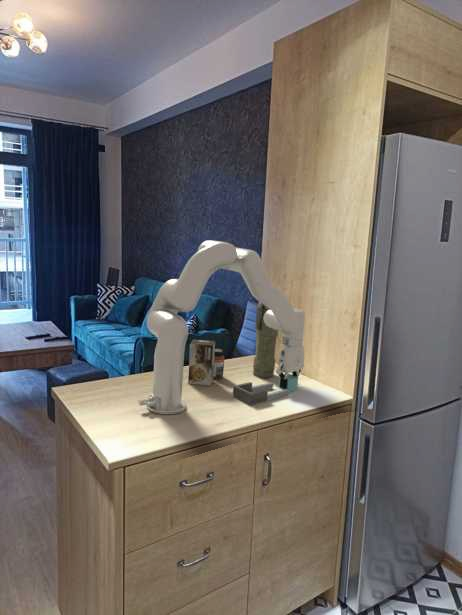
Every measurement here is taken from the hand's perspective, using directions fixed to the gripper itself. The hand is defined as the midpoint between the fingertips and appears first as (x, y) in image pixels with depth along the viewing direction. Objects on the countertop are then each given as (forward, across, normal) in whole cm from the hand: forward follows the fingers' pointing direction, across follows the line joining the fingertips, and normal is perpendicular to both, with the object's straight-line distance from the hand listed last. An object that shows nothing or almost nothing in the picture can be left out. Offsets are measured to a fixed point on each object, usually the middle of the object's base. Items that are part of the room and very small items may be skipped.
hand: (288, 386), depth 175 cm
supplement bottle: (+1, -17, +24) cm, 30 cm away
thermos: (+1, +3, +17) cm, 17 cm away
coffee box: (+1, -26, +22) cm, 34 cm away
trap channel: (+1, -15, 0) cm, 15 cm away
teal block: (+1, 0, 0) cm, 1 cm away
